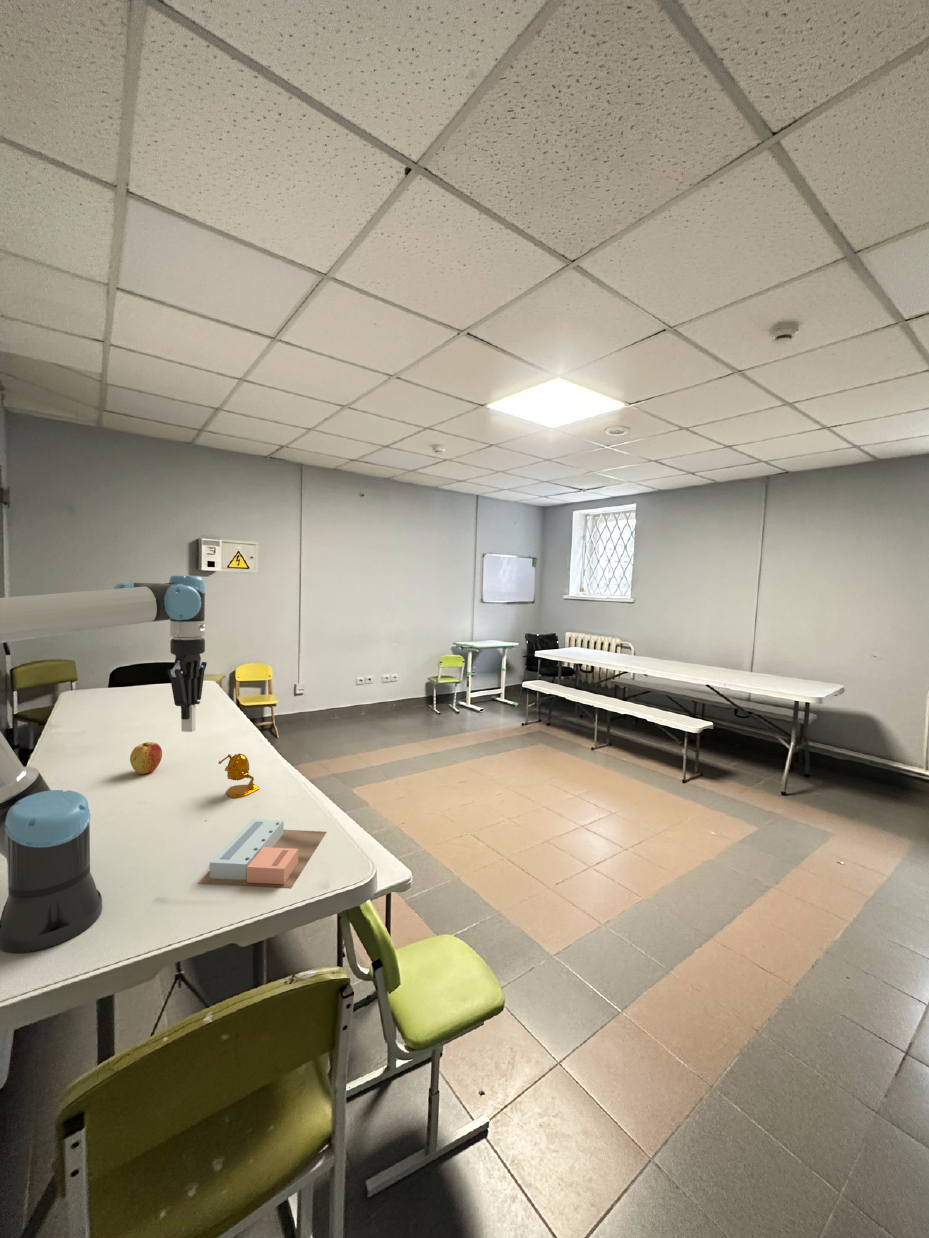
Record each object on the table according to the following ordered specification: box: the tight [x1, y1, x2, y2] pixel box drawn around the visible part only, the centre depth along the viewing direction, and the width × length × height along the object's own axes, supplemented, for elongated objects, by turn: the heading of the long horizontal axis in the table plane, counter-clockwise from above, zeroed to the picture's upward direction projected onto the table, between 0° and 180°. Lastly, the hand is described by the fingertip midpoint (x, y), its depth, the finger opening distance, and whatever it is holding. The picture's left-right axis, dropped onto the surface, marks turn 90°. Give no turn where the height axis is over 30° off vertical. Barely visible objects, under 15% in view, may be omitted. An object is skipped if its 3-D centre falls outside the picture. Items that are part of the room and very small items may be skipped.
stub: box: [247, 847, 298, 884], centre depth 109 cm, size 8×8×4 cm
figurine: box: [217, 753, 260, 799], centre depth 152 cm, size 8×11×12 cm
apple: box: [129, 741, 163, 775], centre depth 165 cm, size 9×9×10 cm
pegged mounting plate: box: [209, 818, 285, 880], centre depth 116 cm, size 20×8×4 cm, turn 178°
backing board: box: [197, 829, 328, 889], centre depth 116 cm, size 24×20×1 cm
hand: (188, 730), depth 125 cm, fingers closed
